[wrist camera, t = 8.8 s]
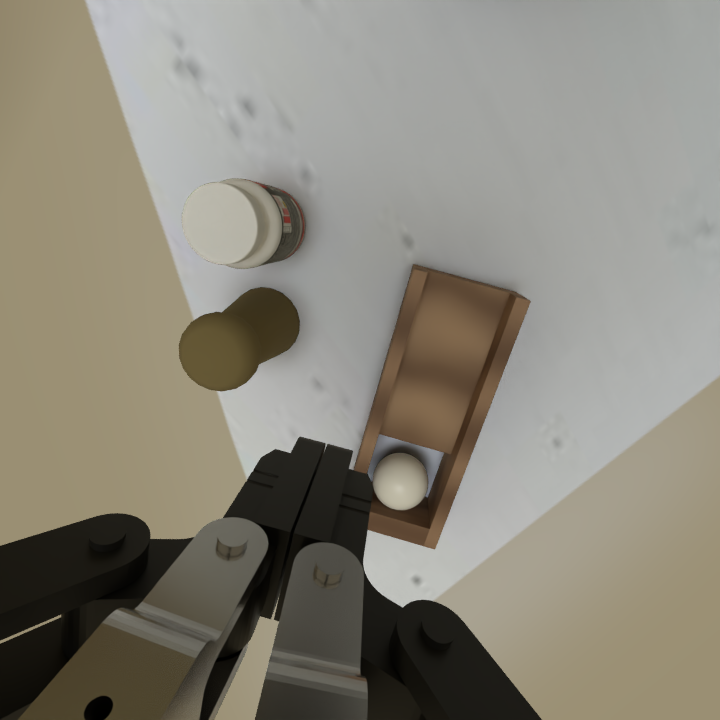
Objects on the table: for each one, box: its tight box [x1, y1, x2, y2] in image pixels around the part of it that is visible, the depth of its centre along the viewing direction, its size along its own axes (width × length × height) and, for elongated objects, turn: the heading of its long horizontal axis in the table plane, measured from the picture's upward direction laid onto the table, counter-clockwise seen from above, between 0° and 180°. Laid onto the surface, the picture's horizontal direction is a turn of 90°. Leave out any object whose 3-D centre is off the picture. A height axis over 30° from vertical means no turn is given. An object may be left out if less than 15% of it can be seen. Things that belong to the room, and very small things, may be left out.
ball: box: [373, 453, 428, 510], centre depth 38 cm, size 5×5×5 cm
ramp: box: [354, 264, 531, 549], centre depth 36 cm, size 22×8×4 cm, turn 165°
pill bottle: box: [182, 179, 305, 269], centre depth 30 cm, size 6×6×10 cm
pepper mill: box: [179, 287, 300, 391], centre depth 32 cm, size 6×6×11 cm
